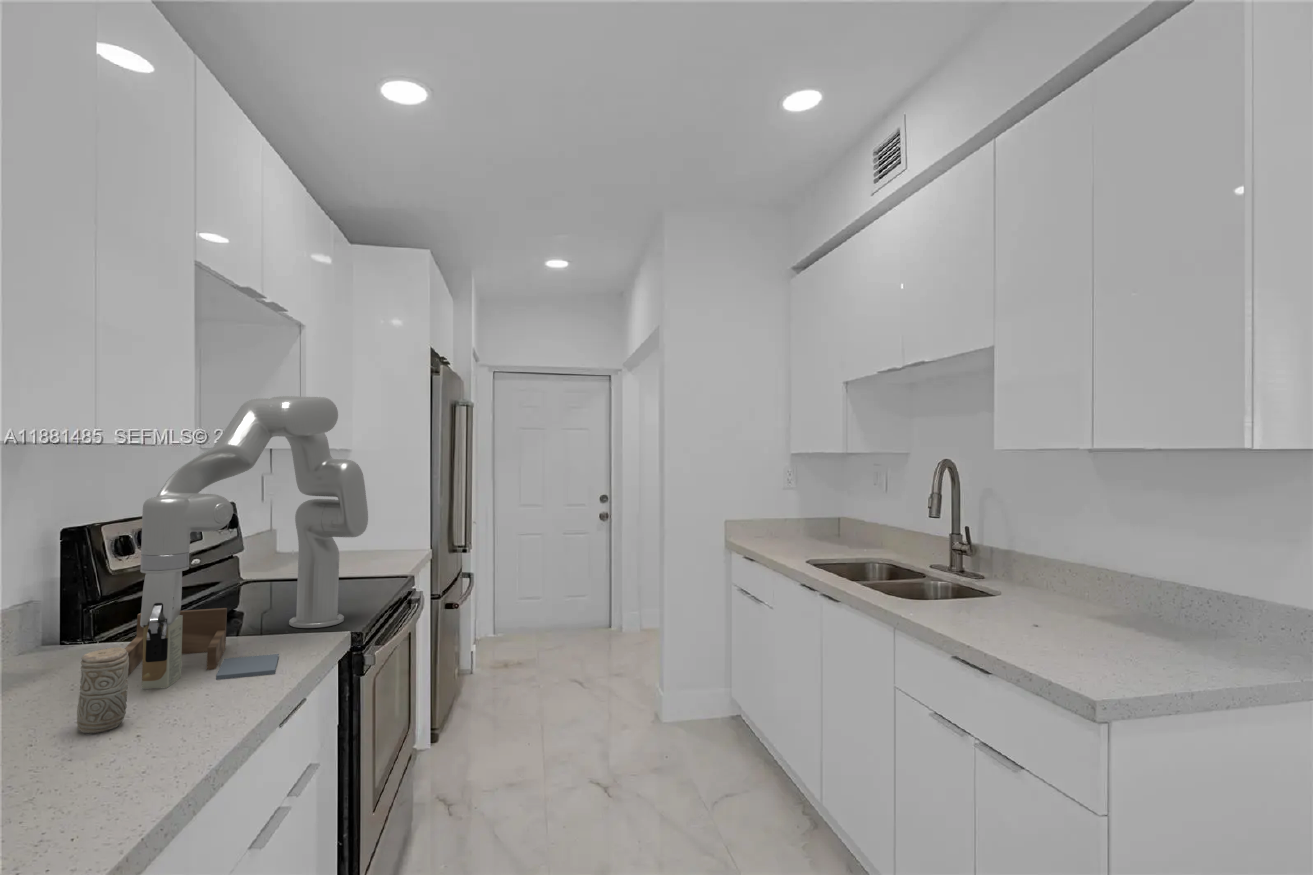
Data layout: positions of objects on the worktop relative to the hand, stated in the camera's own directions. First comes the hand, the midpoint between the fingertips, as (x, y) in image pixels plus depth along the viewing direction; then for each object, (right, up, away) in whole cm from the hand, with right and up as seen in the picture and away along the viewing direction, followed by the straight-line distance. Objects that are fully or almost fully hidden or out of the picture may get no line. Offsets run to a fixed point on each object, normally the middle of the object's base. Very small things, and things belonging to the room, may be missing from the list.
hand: (161, 653), depth 132 cm
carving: (+5, -5, -21) cm, 22 cm away
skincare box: (0, -6, 0) cm, 6 cm away
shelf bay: (-6, -6, +13) cm, 15 cm away
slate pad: (+10, -6, +10) cm, 16 cm away
